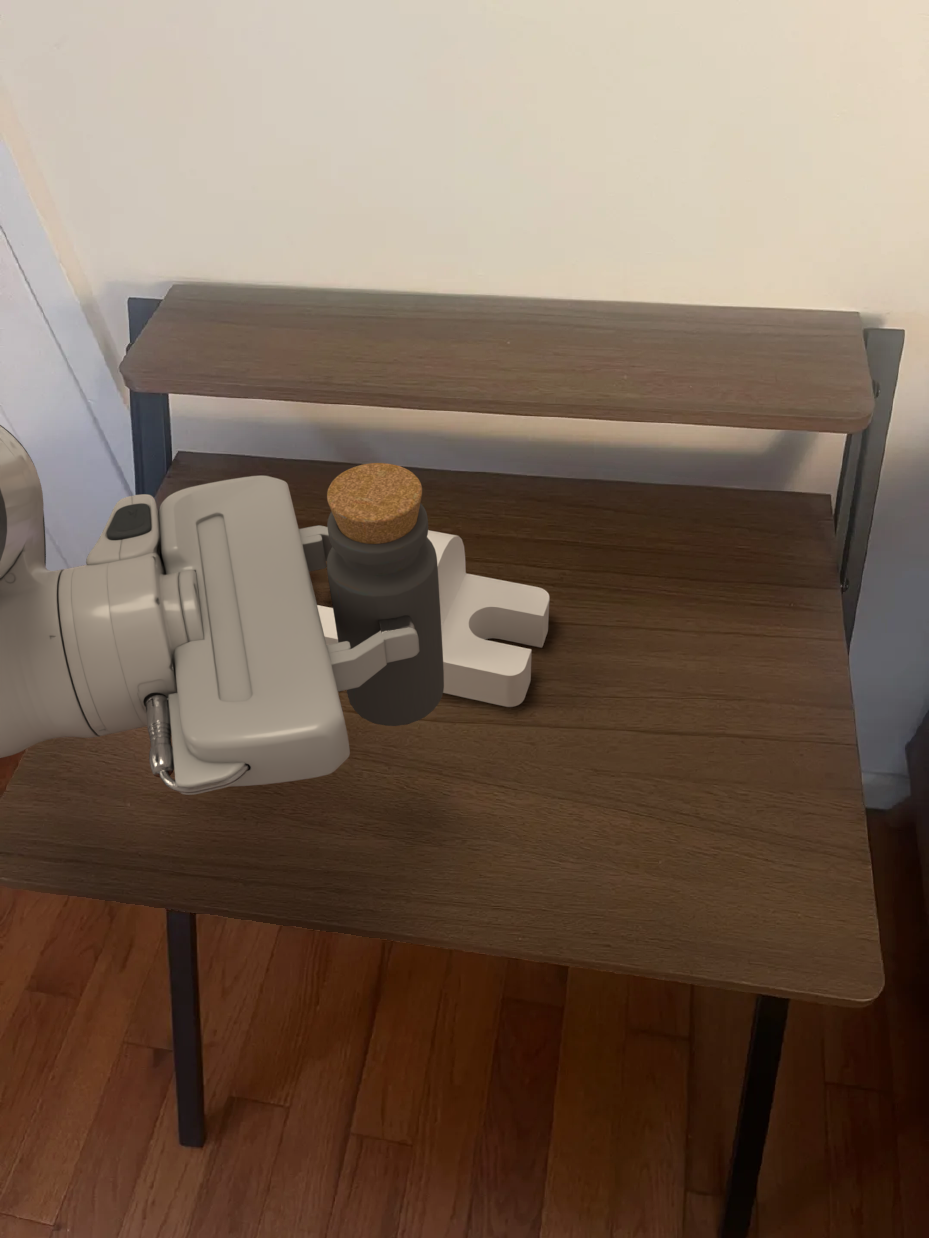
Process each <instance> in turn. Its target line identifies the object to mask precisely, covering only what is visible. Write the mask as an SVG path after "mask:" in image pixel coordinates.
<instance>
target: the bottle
mask: <svg viewBox="0 0 929 1238" xmlns="http://www.w3.org/2000/svg"><path fill="white" fill-rule="evenodd" d="M422 496H423V486H422V483H421V481H420V479H419V478H418V476H417V475H415V474H414V472H412V471H410V470H409V469H407V468H405V467H403V466H401V465H396V464H393V463H387V462H371V463H364V464H361V465H357V466H354V467H351V468H348V469H346V470H345V471H343V472H341V473H339V474H338V475H337V476H336V477H334V479H333V480H332V481H331V482H330V485H329V486H328V488H327V491H326V500H327V503H328V507H329V508H330V511H331V512H330V513H329V515H328V518H327V526H326V527H328V534H329V540H330V542H331V545H332V548H331V550H330V552H329V554H328V558H327V561H326V566H327V567H326V572H327V578H328V585H329V591H330V599H331V605H332V608H333V612H334V618H335V624H336V631H337V637H338V643H339V642H345V641H348V642H349V643H350V646H351V649H352V648H354V647H356V646H357V645H359V644H360V643H362V642H363V641H365V640H367V639H368V638H370V637H371V636H373V635H375V634H376V633H378V632H379V631H380V629H379V621H378V620H382V619H391V618H395V619H396V618H397V617H401V616H404V615H407V616H410V617H411V618H412V621H413V623H414V626H415V629H416V631H417V635H418V639H419V653H418V654H417V655H416V656H414V657H411V658H407V659H402V660H398V661H393V662H389V663H387V665H386V666H385V667H383V668H382V669H381V670H380V671H378V672H377V673H376V674H375V675H373V676H372V677H371V678H370V679H368V680H367V681H366V682H365V683H363V684H362V685H361V686H360V687H357V688H353V689H348V690H346V694H347V698H348V702H349V704H350V705H351V707H352V709H353V710H354V712H355V713H356V714H358V716H359V717H361V718H362V719H364V720H365V721H368V722H371V723H372V724H375V725H379V726H386V727H398V726H399V727H400V726H407V725H411V724H412V723H415V722H418V721H420V720H422V719H423V718H425V717H427V716H428V715H430V714H431V713H432V712H434V710H435V709H436V708H437V707H438V705H439V704H440V702H441V700H442V697H443V695H444V693H443V690H444V669H443V648H442V631H441V614H440V598H439V581H438V565H437V556H436V551H435V548H434V546H433V544H432V542H431V541H430V540H429V539H428V538H427V535H428V530H429V518H428V513H427V510H426V508H425V506H424V505H423V504H422V502H421V501H422Z"/></svg>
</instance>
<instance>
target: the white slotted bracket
mask: <svg viewBox="0 0 929 1238" xmlns="http://www.w3.org/2000/svg"><path fill="white" fill-rule="evenodd" d="M427 538H428V539H429V540H430V541H431V542H432V544H433V546H434V548H435V551H436V556H437V565H438V581H439V598H440V614H441V631H442V648H443V669H444V690H443V694H447V695H452V696H455V697H461V698H465V699H469V700H475V701H477V702H478V701H479V702H483V703H488V704H493V705H497V706H502V707H506V708H513V707H517V706H519V705H521V704H522V703H523V702H524V701H525V698H526V695H527V693H528V690H529V687H530V684H531V680H532V651H533V650H532V648H526V647H521V646H518V645H514V644H513V645H512V644H508V643H503V642H498V641H493V640H490V639H497V640H502V641H507V642H513V643H517V644H522V645H526V646H532V647H536V648H541V649H542V648H543V646H544V643H545V641H546V637H547V635H548V632H549V619H550V618H549V616H550V594H549V592H548V591H547V590H546V589H544V588H542V587H540V586H539V587H538V586H533V585H529V584H523V583H519V582H513V581H509V580H508V581H507V580H502V579H497V578H492V577H487V576H482V575H478V574H477V575H476V574H471V573H467V570H466V552H465V551H466V550H465V545H464V542H463V538H461V537H460V535H457V534H451V533H446V532H440V531H435V530H429V529H428V535H427ZM317 607H318V611H319V615H320V620H321V624H322V628H323V632H324V636H325V640H326V645H329V644H334V643H338V637H337V631H336V624H335V618H334V612H333V607H330V606H329V607H328V606H323V605H319V604H317ZM488 639H489V640H488Z"/></svg>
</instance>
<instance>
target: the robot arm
mask: <svg viewBox="0 0 929 1238" xmlns="http://www.w3.org/2000/svg"><path fill="white" fill-rule="evenodd" d="M45 523H46V522H45V511H44V495H43V487H42V483H41V479H40V476H39V473H38V470H37V468H36V466H35V463H34V461H33V459H32V457H31V456H30V454H29V452H28V451H27V449H26V448H25V447H24V445H23V444H22V443H21V442H20V441H19V439H18V438H16V436H14V434H12V433H11V432H10V431H9V430H8V429H7V428H6V427H4V426H3V425H1V424H0V759H1V758H6V757H10V756H14V755H17V754H19V753H21V752H23V751H25V750H27V749H29V748H31V747H32V746H35V745H37V744H39V743H43V742H45V741H49V740H54V739H59V738H82V739H85V738H86V739H91V738H93V739H94V738H99V737H104V736H108V735H112V734H118V733H122V732H127V731H131V730H136V729H140V728H141V729H142V728H146V727H147V732H148V736H149V743H150V748H149V752H148V760H149V766H150V770H151V773H152V775H153V776H154V777H156V778H159V779H160V780H161V781H162V783H163V784H164V785H165V786H167V788H168V789H170V790H173V791H175V792H177V793H178V792H179V793H180V794H182V795H186V796H191V795H200V794H204V793H207V792H213V791H217V790H220V789H225V788H228V787H250V786H251V787H252V786H263V785H264V786H265V785H272V784H281V783H290V782H296V781H302V780H309V779H315V778H321V777H324V776H328V775H331V774H333V773H334V772H335V771H337V769H338V768H340V766H342V765H343V764H344V763H345V762H346V761H347V760H348V759H349V757H350V756H351V749H350V742H349V735H348V730H347V726H346V720H345V716H344V712H343V707H342V703H341V699H340V695H339V692H345V691H347V690H348V689H353V688H357V687H360V686H361V685H362V684H363V683H365V682H366V681H367V680H368V679H370V678H371V677H372V676H373V675H375V674H376V673H377V672H378V671H380V670H381V669H382V668H383V667H385V666H386V665H387V663H389V662H393V661H398V660H402V659H407V658H411V657H414V656H416V655H417V654H418V653H419V639H418V635H417V631H416V629H415V626H414V623H413V621H412V618H411V617H410V616H407V615H404V616H401V617H397V618H396V619H395V618H391V619H382V620H378V621H379V629H380V631H379V632H378V633H376V634H375V635H373V636H371V637H370V638H368V639H367V640H365V641H363V642H362V643H360V644H359V645H357V646H356V647H354V648H352V649H351V646H350V643H349V642H348V641H345V642H339V643H334V644H329V645H326V640H325V636H324V632H323V628H322V624H321V620H320V615H319V611H318V607H317V605H318V603H317V598H316V595H315V591H314V586H313V583H312V579H311V575H310V573H311V572H316V571H319V570H324V569H327V558H328V554H329V552H330V550H331V548H332V545H331V542H330V540H329V534H328V526H324V525H313V526H308V527H302V528H299V525H298V520H297V516H296V512H295V507H294V503H293V500H292V496H291V491H290V488H289V484H288V482H286V480H283V479H281V478H277V477H272V476H269V475H251V476H243V477H237V478H231V479H223V480H219V481H214V482H208V483H203V484H199V485H194V486H189V487H186V488H182V489H180V490H177V491H175V492H173V493H171V494H170V495H167V497H166V498H164V500H163V501H162V502H161V504H160V506H159V508H158V505H157V502H156V499H155V497H154V496H153V495H151V494H145V493H143V494H135V495H129V496H126V497H123V498H121V499H119V500H118V501H117V502H116V503H115V505H114V507H113V508H112V510H111V513H110V515H109V517H108V519H107V522H106V524H105V526H104V528H103V530H102V532H101V533H100V535H99V537H98V539H97V541H96V543H95V544H94V546H93V547H92V548H91V550H90V552H89V553H88V555H87V557H86V560H85V563H86V564H84V565H83V564H82V565H78V566H73V567H67V568H62V569H56V570H49V569H47V565H46V564H47V546H46V545H47V542H46V524H45ZM173 773H174V778H173V777H171V775H173Z"/></svg>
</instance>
